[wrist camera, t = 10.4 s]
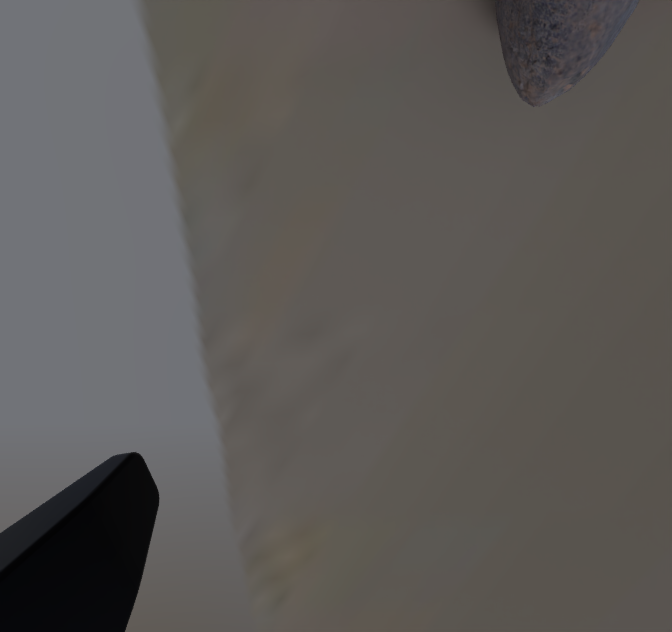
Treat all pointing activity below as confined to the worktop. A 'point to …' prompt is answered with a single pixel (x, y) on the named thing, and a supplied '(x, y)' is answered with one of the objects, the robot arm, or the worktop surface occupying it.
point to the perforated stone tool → (556, 41)
